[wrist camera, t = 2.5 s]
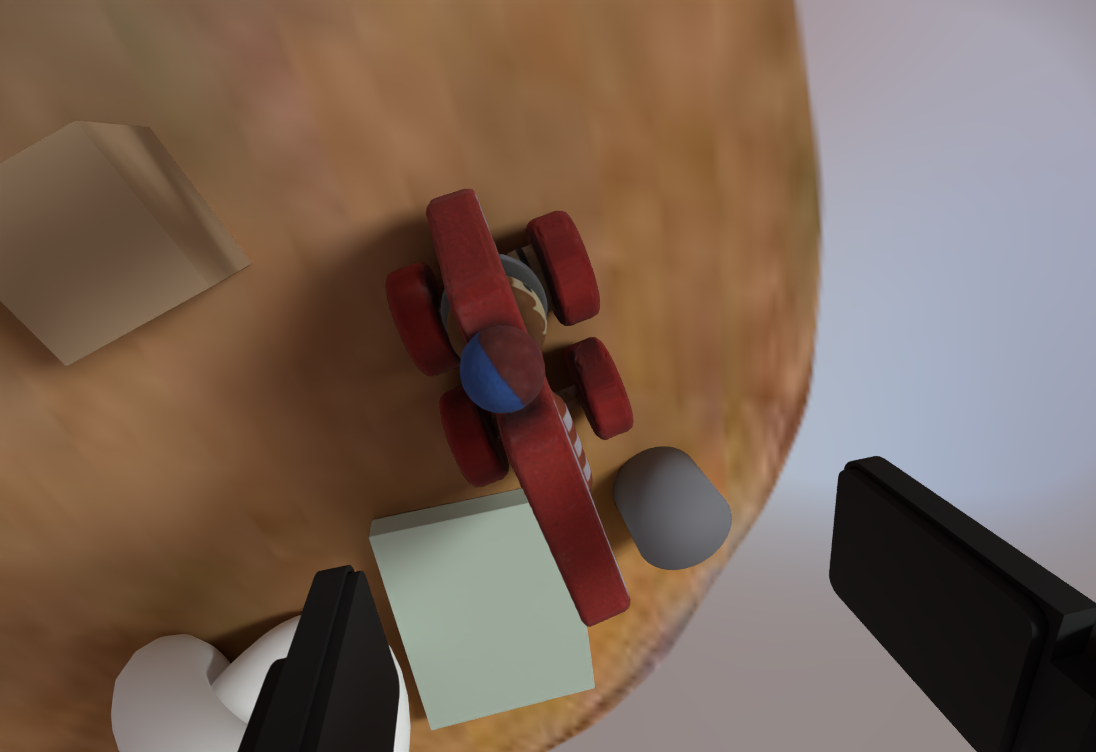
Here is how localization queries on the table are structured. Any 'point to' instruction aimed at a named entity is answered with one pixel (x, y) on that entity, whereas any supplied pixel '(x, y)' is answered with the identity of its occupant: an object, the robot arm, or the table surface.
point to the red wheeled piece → (519, 377)
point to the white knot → (203, 694)
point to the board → (481, 608)
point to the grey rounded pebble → (671, 508)
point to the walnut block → (103, 236)
